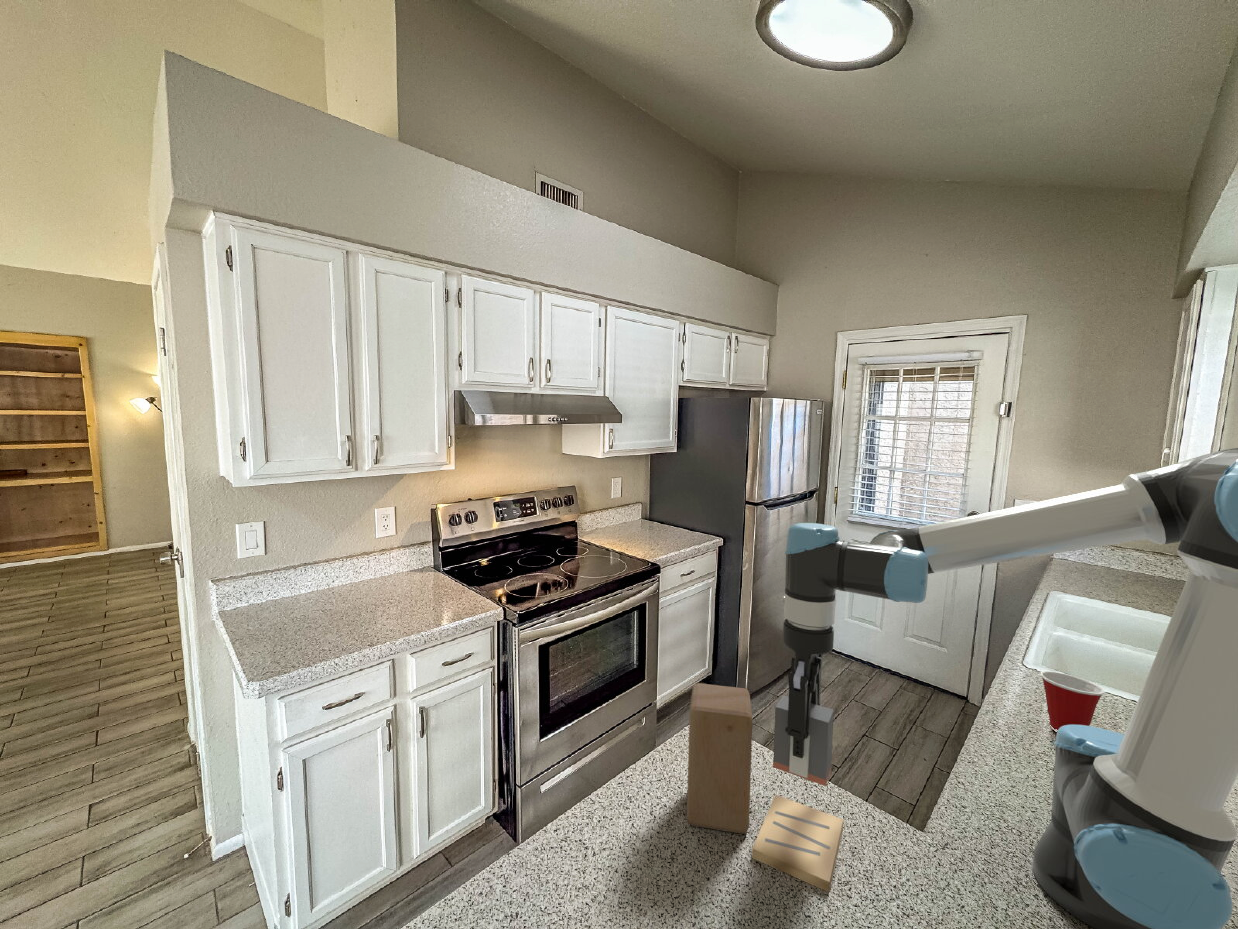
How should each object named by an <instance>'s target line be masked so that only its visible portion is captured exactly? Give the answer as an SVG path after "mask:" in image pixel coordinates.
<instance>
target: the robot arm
mask: <svg viewBox="0 0 1238 929" xmlns="http://www.w3.org/2000/svg"><path fill="white" fill-rule="evenodd" d="M1141 540H1146V541H1150V542H1152V543H1154V544H1157V545H1160V546H1161V545H1168V544H1176V543H1179V545H1178V548H1177V550H1176V553H1177V555H1178V556H1179V557H1180V559H1181V560H1182V561H1183V562H1184V564H1185V565H1186V566H1187V568H1188V571H1189V573H1188V576H1187V579H1186V580H1185V582H1184V583H1185V584H1184V586H1183V588H1182V591H1181V594H1180V596H1179V597H1178V601H1177V603H1176V606H1175V607H1174V611H1173V613H1172V615H1171V618H1170V620H1169V623H1168V625H1167V627H1166V630H1165V633H1164V635H1163V638H1162V640H1161V643H1160V645H1159V647H1158V650H1157V653H1156V656H1155V658H1154V660H1153V662H1152V665H1151V668H1150V671H1149V672H1148V675H1147V678H1146V680H1145V682H1144V684H1143V687H1142V690H1141V692H1140V694H1139V698H1138V700H1137V702H1136V705H1135V708H1134V710H1133V712H1132V715H1131V717H1130V720H1129V722H1128V724H1127V726H1126V727H1127V728H1125V729H1126V730H1125V733H1124V734H1122V733H1119V732H1117V731H1116V732H1115V731H1113V730H1109V729H1106V728H1105V729H1104V728H1102V727H1097V726H1093V725H1089V726H1086V725H1065V726H1062V727H1060V728H1059V729H1058V731H1057V733H1056V737H1055V741H1054V742H1053V746H1055V748H1054V749H1055V753H1054V765H1053V766H1054V769H1053V782H1052V783H1053V784H1052V785H1053V787H1052V800H1051V817H1050V818H1051V819H1050V821H1049V824H1047V825H1048V826H1046V829H1045V830H1044V831H1043V833H1042V835H1041V837H1040V839H1039V840H1038V842H1037V843H1036V845H1035V847H1034V850H1033V857H1032V871H1033V875H1034V876H1035V879H1036V881H1037V882H1038V885H1039V886H1040V887H1041V888H1042V889H1043V891H1045V893H1046V894H1047V895H1048V896H1049V897H1050V898H1051V899H1052V900H1053V901H1054V902H1055V903H1056V904H1058V905H1059V906H1060V907H1061V908H1062V909H1064V910H1065V911H1067V913H1069V914H1071V915H1072V916H1073V917H1074V918H1076V919H1077V920H1079V921H1081V922H1082V923H1084V924H1086V925H1087V926H1089V927H1091V928H1093V929H1223V928H1224V927H1225V926H1226V925H1227V924H1228V923H1229V921H1230V920H1231V917H1232V914H1233V900H1232V896H1231V893H1232V892H1231V889H1230V888H1231V887H1230V886H1229V884H1228V882H1227V880H1226V879H1225V877H1224V876H1223V874H1222V871H1223V868H1224V865H1225V864H1226V861H1227V859H1228V856H1229V855H1230V852H1231V850H1232V848H1233V846H1234V843H1235V841H1236V839H1237V836H1238V830H1237V827H1236V826H1235V824H1234V822H1233V820H1232V819H1231V818H1230V817H1229V815H1228V814H1227V812H1226V811H1225V809H1224V807H1225V805H1226V802H1227V800H1228V798H1229V795H1230V793H1231V791H1232V789H1233V786H1234V784H1235V782H1236V780H1237V778H1238V447H1235V448H1228V449H1221V450H1218V451H1214V452H1210V453H1207V454H1203V455H1200V456H1196V457H1193V458H1190V459H1189V458H1188V459H1186V460H1183V461H1180V462H1176V463H1172V464H1168V465H1166V466H1163V467H1162V466H1161V467H1158V468H1154V469H1151V470H1150V469H1149V470H1147V471H1142V472H1138V473H1137V472H1136V473H1132V474H1129V475H1126V476H1125V478H1124V480H1123V481H1122V482H1121V483H1120V484H1118V485H1114V486H1109V487H1108V486H1107V487H1103V488H1100V489H1095V490H1094V489H1093V490H1090V491H1084V492H1079V493H1074V494H1069V495H1066V496H1060V497H1055V498H1050V499H1046V500H1041V501H1037V502H1032V503H1028V504H1022V505H1017V506H1012V507H1007V508H1003V509H999V510H992V511H988V512H983V513H980V514H979V513H978V514H975V515H968V516H964V517H961V518H960V517H959V518H955V519H951V520H950V519H949V520H945V521H941V522H936V523H931V524H927V525H926V524H925V525H922V526H918V527H914V528H907V529H903V530H887V531H884V532H879V534H877V535H875V536H874V537H873V538H872V539H871V541H870V542H869V543H862V542H861V543H860V542H851V541H845V540H840V536H839V531H838V529H837V528H836V527H835V526H833V525H829V524H824V523H816V522H815V523H814V522H800V523H795V524H792V525H791V526H790V527H789V528H788V530H787V541H786V548H785V549H786V550H785V553H784V554H785V584H784V586H785V587H784V596H781V598H780V601H781V602H782V603H784V606H783V610H784V611H783V616H784V618H785V619H784V620H783V626H782V642H783V644H784V645H785V646H786V647H787V648H789V649H791V650H792V651H794V653H795V655H794V657H792V658H791V662H790V669H791V672H789V673H788V676H787V680H788V697H789V702H788V727H786V728H785V732H787V734H788V735H790V736H791V739H790V764H789V772H791V773H794V774H797V775H800V776H802V777H805V778H807V777H808V768H809V745H810V735H809V733H808V728H809V716H810V705H811V703H812V704H816V705H819V706H821V690H822V689H821V686H822V668H823V667H822V666H823V656H824V655H826V654H829V653H830V652H832V651H833V649H834V641H835V640H834V638H835V637H834V636H835V628H834V626H833V625H834V624H835V623H836V602H837V599H836V591H841V592H846V593H847V592H848V593H852V594H858V595H863V596H867V597H868V596H869V597H873V598H880V599H884V600H890V601H893V602H897V603H899V602H903V603H913V604H920V603H922V602H924V601H925V599H926V597H927V591H928V578H929V577H928V576H929V575H930V574H936V573H939V572H940V573H941V572H947V571H953V570H960V569H966V568H973V567H977V566H979V567H980V566H985V565H990V564H998V563H1003V562H1011V561H1016V560H1023V559H1030V558H1035V557H1040V556H1046V555H1055V554H1060V553H1066V552H1073V551H1078V550H1085V549H1092V548H1098V547H1105V546H1111V545H1115V544H1123V543H1128V542H1129V543H1130V542H1135V541H1141Z"/></svg>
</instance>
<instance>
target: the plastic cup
mask: <svg viewBox="0 0 1238 929" xmlns="http://www.w3.org/2000/svg"><path fill="white" fill-rule="evenodd" d="M1040 677H1041V679H1042V681H1043V686H1044V692H1045V699H1046V707H1047V714H1048V718H1049V725H1051V726H1052V727H1053V728H1054V729H1057V730H1058V729H1059V728H1060V727H1062V726H1065V725H1086V726H1091V723H1092V721H1093V720H1092V719H1093V717H1094V714H1095V711H1096V708H1097V704H1098V702H1099V701H1100V699H1101V697H1102V696H1103V695H1105V694H1106V691H1105V689H1104V688H1102V686H1100V685H1099V684H1098V685H1097V684H1095V683H1094V682H1091V681H1089V680H1086V679H1084V678H1081V677H1078V676H1074V675H1070V674H1067V673H1062V672H1057V671H1041V672H1040ZM1051 726H1050V727H1051Z"/></svg>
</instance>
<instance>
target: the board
mask: <svg viewBox="0 0 1238 929" xmlns="http://www.w3.org/2000/svg"><path fill="white" fill-rule="evenodd" d="M843 830H844V819H843V818H839V817H838V816H835V815H832V814H828V813H827V812H824V811H822V810H818V809H816V808H813V807H810V806H809V805H808V806H807V805H804V804H802V803H800V802H796V801H794V800H791V799H789V798H786V797H783V796H780V795H778V794H775V795H774V797H773V800H772V801H771V804H770V807H769V809H768V811H767V814H766V815H765V818H764V820H763V822H762V825H761V826H760V830H759V832H758V835H757V837H756V839H755V841H754V844H753V847H752V848H751V859H754V860H756V861H758V862H759V863H762V864H764V865H766V866H769V867H771V868H774V869H775V870H778V871H781V872H783V873H785V874H786V875H789V876H792V877H795V878H797V879H799V880H801V881H803V882H806V883H807V884H809V885H812V886H814V887H816V888H818V889H821V890H823V891H826V892H828V893H830V891H831V886H832V881H833V876H834V872H835V868H836V862H837V858H838V852H839V850H840V845H841V839H842V835H843Z"/></svg>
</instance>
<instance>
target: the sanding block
mask: <svg viewBox="0 0 1238 929" xmlns="http://www.w3.org/2000/svg"><path fill="white" fill-rule="evenodd" d="M788 702H789V695H788V696H787V695H784V694H783V695H782V696H781V697H780V698H779V700H778V702H777V703H776V705H775V711H774V733H773V736H774V737H773V759H772V761H773V762H772V767H773V768H774V769H776V770H780V771H782V772H785V773H787V774H790V775H793V776H795V777H796V776H797V777H800V778H801V779H804V780H807V781H810V782H812V783H815V784H818V785H821V786H824V787H827V783H828V780H829V778H830V775H831V772H832V762H833V761H832V758H833V756H832V755H833V738H834V736H833V735H834V717H835V716H834V712H835V709H832V708H830V707H827V706H826V707H825V706H824V705H823V706H822V705H820V706H819V705H816V704H812V703H811V705H810V716H809V728H808V733H809V735H810V745H809V768H808V777H807V778H805V777H802V776H800V775H797V774H794V773H791V772H789V764H790V739H791V736H790V735H788V734H787V732H785V728H786V727H788Z"/></svg>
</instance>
